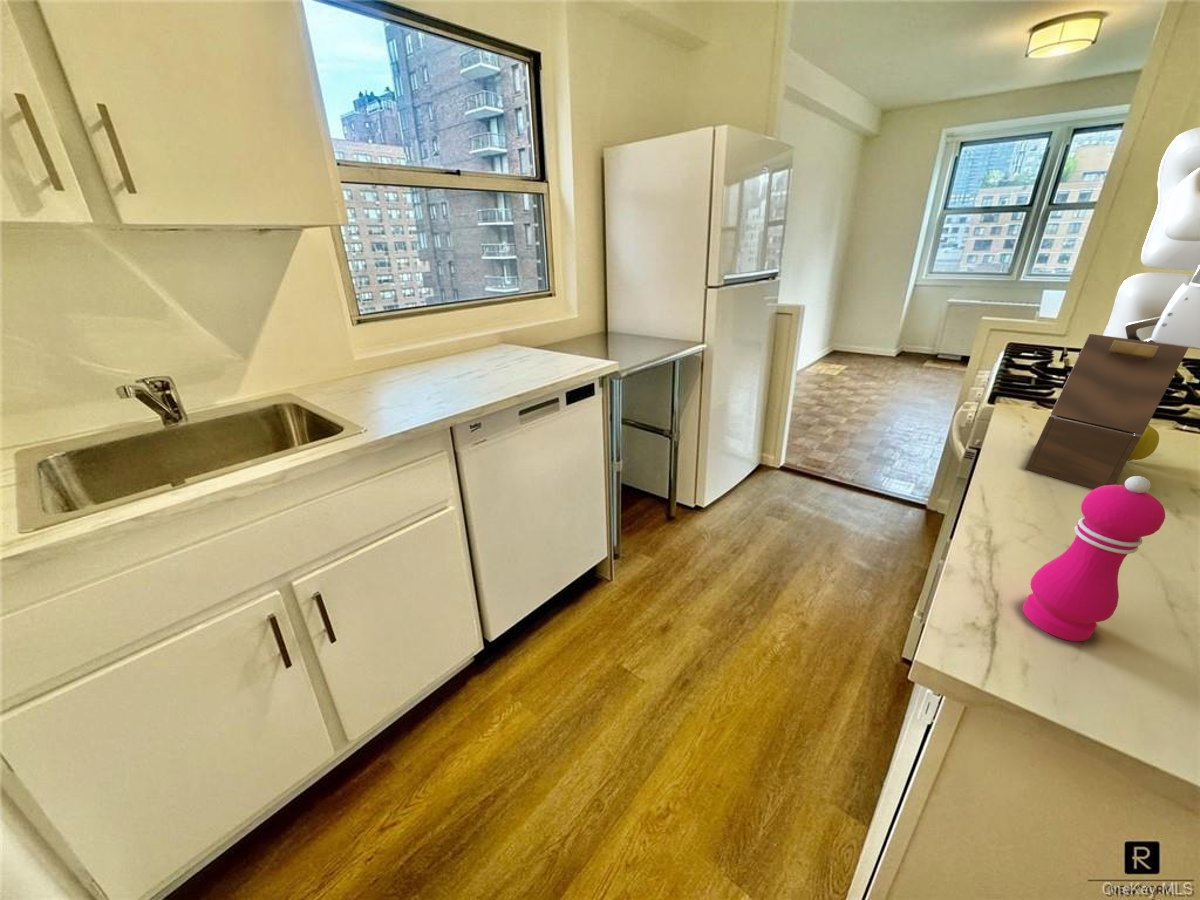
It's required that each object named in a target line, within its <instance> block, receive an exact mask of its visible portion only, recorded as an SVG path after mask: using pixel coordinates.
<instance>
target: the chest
mask: <svg viewBox="0 0 1200 900" xmlns="http://www.w3.org/2000/svg"><path fill="white" fill-rule="evenodd" d="M1140 438H1141V435H1140V434H1135V433H1131V432H1126V431H1122V430H1117V429H1113V428H1108V427H1104V426H1100V425H1095V424H1091V423H1086V422H1082V421H1077V420H1073V419H1068V418H1064V417H1060V416H1055V415H1051V414H1050V415H1049V416H1048V418H1047V421H1046V422H1045V424H1044V427H1043V429H1042V431H1041V433H1040V435H1039V438H1038V440H1037V442H1036V444H1035V446H1034V447H1033V450H1032V452H1031V455H1030V456H1029V459H1028V461H1027V463H1026V465H1025V467H1024V470H1027V471H1030V472H1033V473H1037V474H1040V475H1042V476H1043V475H1044V476H1047V477H1051V478H1054V479H1058V480H1061V481H1063V482H1064V481H1065V482H1068V483H1071V484H1074V485H1079V486H1081V487H1085V488H1088V489H1092V490H1094V489H1096V488H1098V487H1101V486H1105V485H1115V483H1116V481H1117V480H1118V478H1119V477H1120V474H1121V472H1122V471H1123V469H1124V468H1125V466H1126V464H1127V462H1128V461H1127V460H1128V459H1129V457H1130V455H1131V453H1132V452H1133V450H1134V448H1135V446H1136V445H1137V443H1138V441H1139V439H1140Z"/></svg>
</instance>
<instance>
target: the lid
mask: <svg viewBox="0 0 1200 900" xmlns="http://www.w3.org/2000/svg"><path fill="white" fill-rule="evenodd" d="M1102 335H1103V334H1102ZM1102 335H1101V334H1096V333H1095V334H1093V333H1089V334H1088V336H1087V338H1086V340H1085V342H1084V344H1083V346H1082V348H1081V350H1080V352H1079V354H1078V356H1077V358H1076V360H1075V362H1074V365H1073V367H1072V368H1071V371H1070V372H1069V375H1068V376H1067V379H1066V381H1065V382H1064V385H1063V387H1062V388H1061V391H1060V393H1059V396H1058V397H1057V399H1056V402H1055V403H1054V406H1053V408H1052V410H1051V412H1050V415H1055V416H1060V417H1064V418H1068V419H1073V420H1077V421H1082V422H1086V423H1091V424H1095V425H1100V426H1104V427H1108V428H1113V429H1117V430H1122V431H1126V432H1131V433H1135V434H1140V435H1142V434H1143V433H1144V431H1145V429H1146V427H1147V425H1148V424H1149V423H1150V421H1151V419H1152V418H1153V416H1154V414H1155V412H1156V410H1157V408H1158V407H1159V406H1160V405H1159V404H1160V403H1161V401H1162V399H1163V397H1164V395H1165V393H1166V392H1167V390H1168V388H1169V385H1170V384H1171V382H1172V380H1173V378H1174V377H1175V374H1176V373H1177V371H1178V369H1179V367H1180V365H1181V363H1182V362H1183V359H1184V358H1185V355H1186V353H1187V352H1188V350H1189V349H1190V348H1189V347H1184V346H1176V345H1169V344H1162V343H1154V342H1147V341H1139V340H1132V339H1125V338H1117V337H1110V336H1102Z"/></svg>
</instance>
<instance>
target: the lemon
mask: <svg viewBox="0 0 1200 900" xmlns="http://www.w3.org/2000/svg"><path fill="white" fill-rule="evenodd" d="M1159 442H1160V434H1159V432H1158V431H1157V430H1156V429H1155V428H1154V427H1153V426H1151V425H1150V424H1149V423H1148V425H1147V427H1146V429H1145V431H1144V433H1143V434H1142V435H1141V438H1140V439H1139V441H1138V443H1137V445H1136V446H1135V448H1134V450H1133V452H1132V453H1131V455H1130V457H1129V459H1128V460H1127V462H1131V461H1139V460H1143V459H1146V458H1148V457H1150V455H1152V454H1153V453H1154V452H1155V451H1156V450H1157V448H1158V445H1159Z"/></svg>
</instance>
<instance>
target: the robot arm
mask: <svg viewBox="0 0 1200 900" xmlns="http://www.w3.org/2000/svg"><path fill="white" fill-rule="evenodd" d="M1166 148H1167V149H1166V150H1165V152H1164V155H1163V157H1162V159H1161V162H1160V166H1159V169H1158V176H1157V192H1158V193H1157V194H1158V202H1157V203H1158V204H1157V207H1156V211H1155V214H1154V217H1153V219H1152V221H1151V225H1150V227H1149V230H1148V233H1147V235H1146V239H1145V241H1144V244H1143V246H1142V250H1141V253H1140V262H1141V263H1142V265H1143V266H1145V267H1147V268H1150V269H1157V270H1170V271H1185V272H1187V271H1188V272H1189V271H1190V272H1195V273H1194V274H1192V273H1191V274H1188V273H1181V272H1180V273H1178V272H1177V273H1176V272H1161V271H1158V272H1156V271H1153V272H1143V273H1137V274H1134V275H1132V276H1130V277H1128V278H1127V279H1125V280H1124V281H1123V282H1122V284H1121V285H1119V288H1118V290H1117V293H1116V295H1115V299H1114V303H1113V305H1112V310H1111V314H1110V317H1109V320H1108V322H1107V324H1106V327H1105V329H1104V331H1103V333H1102V336H1110V337H1117V338H1125V339H1132V340H1139V341H1147V342H1154V343H1162V344H1169V345H1176V346H1184V347H1189V348H1188V349H1193V350H1199V351H1200V126H1199V127H1195V128H1191V129H1188V130H1186V131H1184V132H1182V133H1180V134H1178V135H1177V136H1176V137H1175V138H1174V139H1173V140H1172V141H1171V142H1170V144H1169V145H1168V147H1166Z"/></svg>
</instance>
